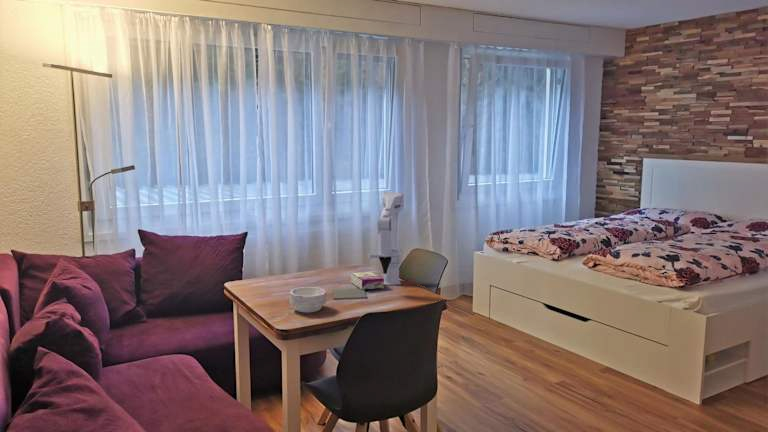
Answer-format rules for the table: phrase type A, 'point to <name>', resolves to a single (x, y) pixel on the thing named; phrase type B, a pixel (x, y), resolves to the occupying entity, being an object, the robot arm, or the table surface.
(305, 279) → the table surface
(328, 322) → the table surface
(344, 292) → the mat
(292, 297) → the paper bowls
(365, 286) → the candy bar box
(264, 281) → the table surface
